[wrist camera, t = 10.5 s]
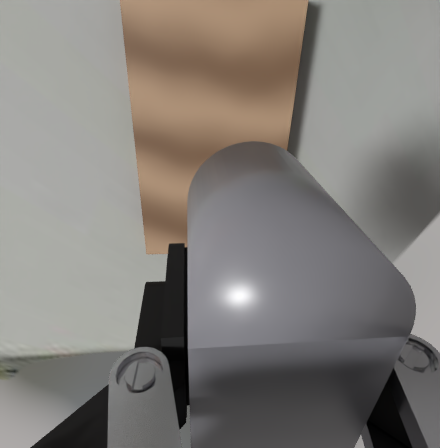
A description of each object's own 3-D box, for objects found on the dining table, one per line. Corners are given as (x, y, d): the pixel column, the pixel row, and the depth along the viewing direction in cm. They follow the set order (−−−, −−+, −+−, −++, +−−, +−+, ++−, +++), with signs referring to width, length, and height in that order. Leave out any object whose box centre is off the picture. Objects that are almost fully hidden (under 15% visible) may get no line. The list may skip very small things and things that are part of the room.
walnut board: (122, -10, 20) (118, -14, 19) (301, -1, 22) (308, -4, 20) (148, 245, 30) (146, 254, 29) (269, 242, 32) (272, 250, 30)
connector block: (185, 140, 9) (185, 253, 4) (320, 141, 9) (454, 245, 5) (191, 389, 15) (194, 548, 10) (273, 383, 15) (310, 534, 11)
